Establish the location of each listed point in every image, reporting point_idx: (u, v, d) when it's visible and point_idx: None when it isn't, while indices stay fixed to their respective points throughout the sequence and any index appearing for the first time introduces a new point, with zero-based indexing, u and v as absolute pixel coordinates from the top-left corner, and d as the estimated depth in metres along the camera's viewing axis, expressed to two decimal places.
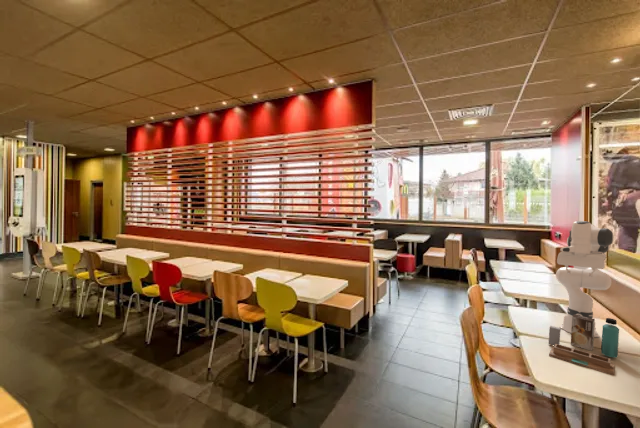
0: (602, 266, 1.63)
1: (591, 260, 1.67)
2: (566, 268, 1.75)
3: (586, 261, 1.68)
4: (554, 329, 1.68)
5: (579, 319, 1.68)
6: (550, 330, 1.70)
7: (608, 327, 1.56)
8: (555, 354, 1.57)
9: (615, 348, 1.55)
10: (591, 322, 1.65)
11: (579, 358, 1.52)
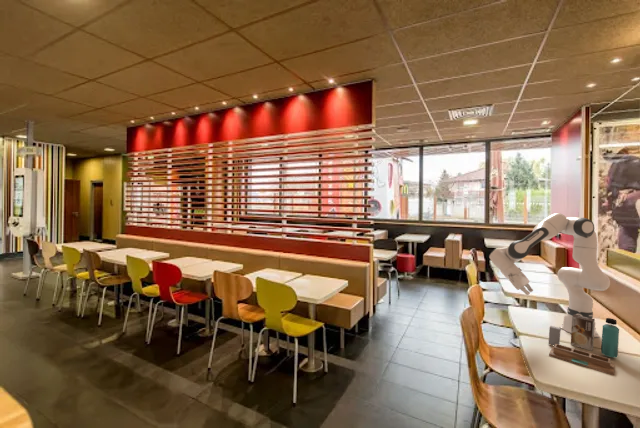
0: None
1: None
2: (527, 288, 1.83)
3: None
4: (554, 329, 1.68)
5: (579, 319, 1.68)
6: (550, 330, 1.70)
7: (608, 327, 1.56)
8: (555, 354, 1.57)
9: (615, 348, 1.55)
10: (591, 322, 1.65)
11: (579, 358, 1.52)
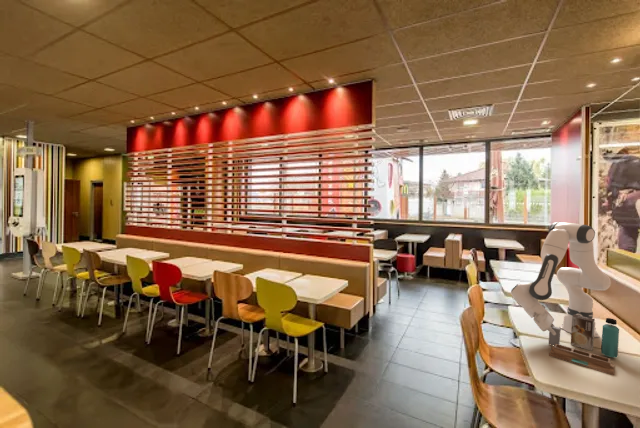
0: (541, 329, 1.66)
1: None
2: None
3: None
4: (554, 329, 1.68)
5: (579, 319, 1.68)
6: None
7: (608, 327, 1.56)
8: (555, 354, 1.57)
9: (615, 348, 1.55)
10: (591, 322, 1.65)
11: (579, 358, 1.52)
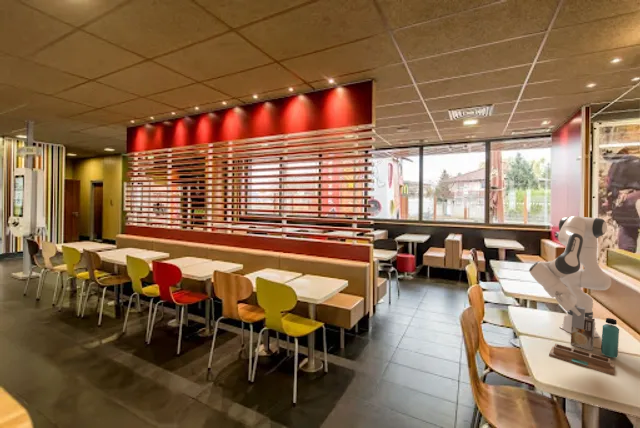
0: None
1: None
2: None
3: None
4: (578, 309, 1.54)
5: None
6: None
7: (608, 327, 1.56)
8: (555, 354, 1.57)
9: (615, 348, 1.55)
10: (591, 322, 1.65)
11: (579, 358, 1.52)
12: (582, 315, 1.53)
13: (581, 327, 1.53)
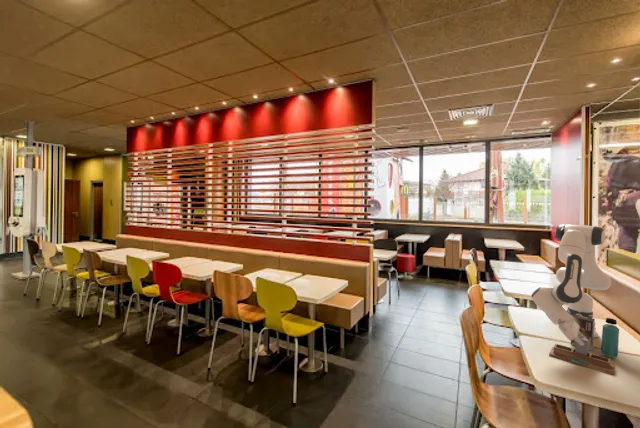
0: None
1: None
2: (577, 335, 1.58)
3: None
4: None
5: (579, 319, 1.68)
6: None
7: (608, 327, 1.56)
8: (555, 354, 1.57)
9: (615, 348, 1.55)
10: (591, 322, 1.65)
11: (579, 358, 1.52)
12: (585, 347, 1.51)
13: None
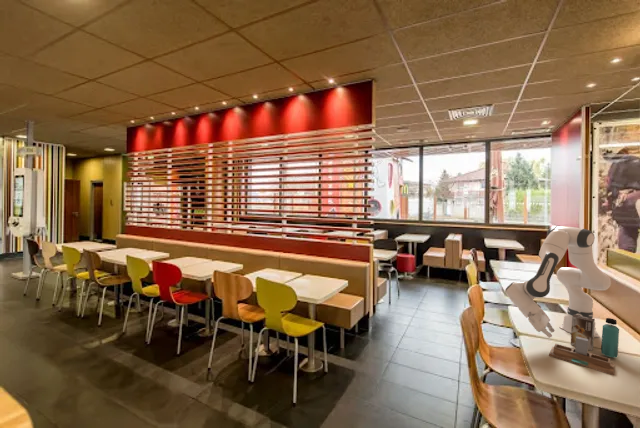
0: (536, 329, 1.58)
1: None
2: None
3: None
4: (581, 340, 1.52)
5: (579, 319, 1.68)
6: (576, 341, 1.53)
7: (608, 327, 1.56)
8: (555, 354, 1.57)
9: (615, 348, 1.55)
10: (591, 322, 1.65)
11: (579, 358, 1.52)
12: (585, 347, 1.51)
13: None
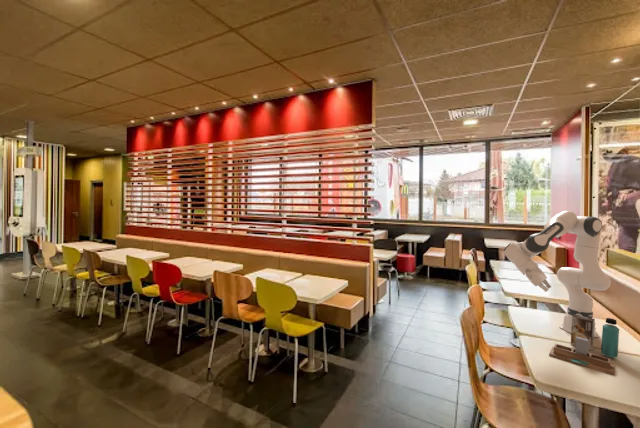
0: (533, 284, 1.64)
1: None
2: None
3: None
4: (581, 340, 1.52)
5: (579, 319, 1.68)
6: (576, 341, 1.53)
7: (608, 327, 1.56)
8: (555, 354, 1.57)
9: (615, 348, 1.55)
10: (591, 322, 1.65)
11: (579, 358, 1.52)
12: (585, 347, 1.51)
13: None
